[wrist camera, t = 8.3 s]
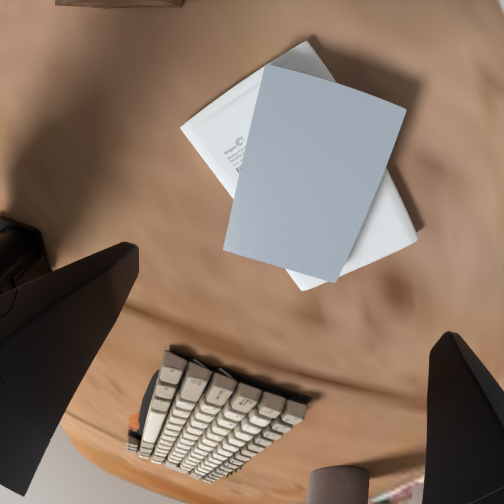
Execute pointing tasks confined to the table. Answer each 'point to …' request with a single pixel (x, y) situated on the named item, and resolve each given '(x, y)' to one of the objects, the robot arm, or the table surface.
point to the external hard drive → (233, 147)
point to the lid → (309, 171)
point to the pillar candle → (338, 486)
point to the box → (120, 3)
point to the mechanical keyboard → (209, 418)
